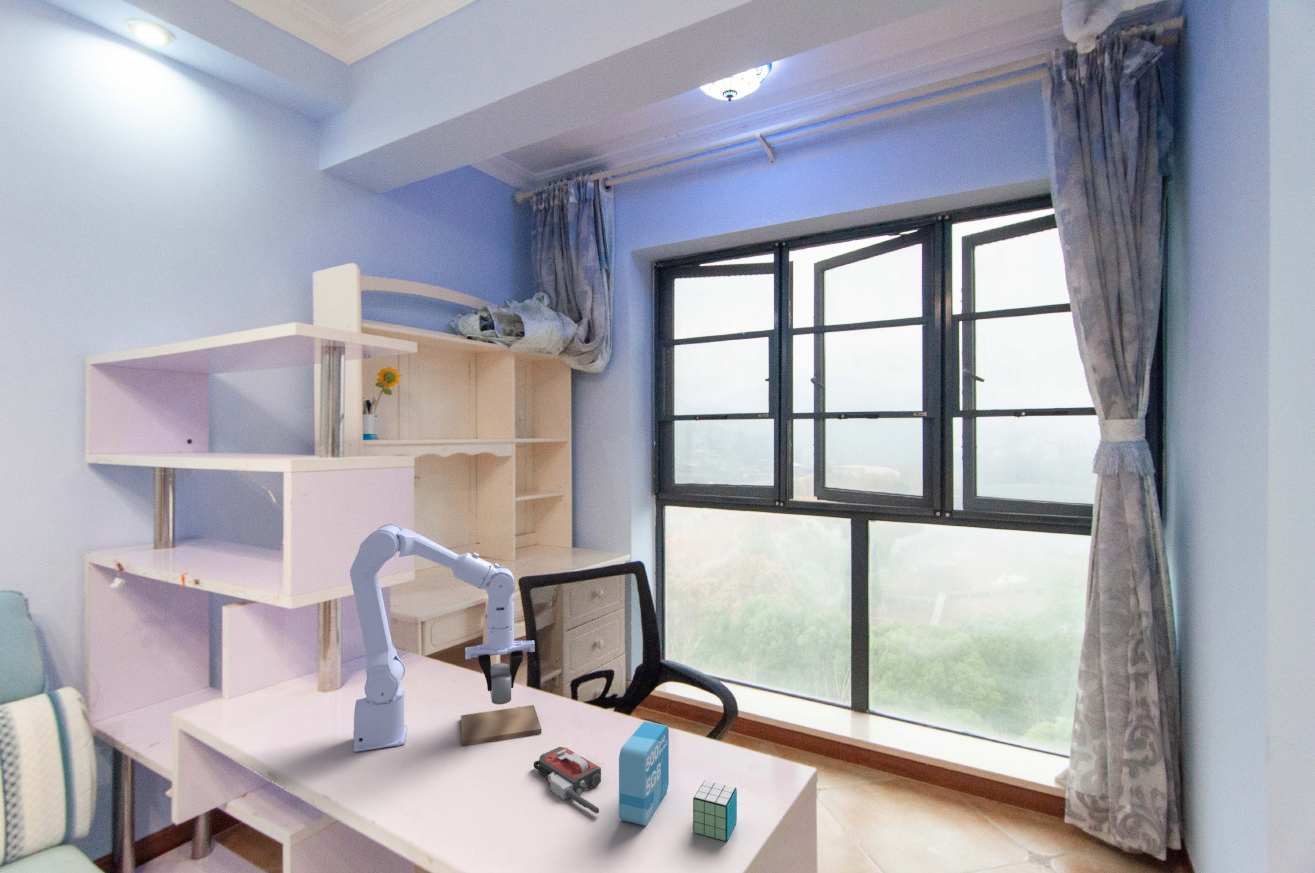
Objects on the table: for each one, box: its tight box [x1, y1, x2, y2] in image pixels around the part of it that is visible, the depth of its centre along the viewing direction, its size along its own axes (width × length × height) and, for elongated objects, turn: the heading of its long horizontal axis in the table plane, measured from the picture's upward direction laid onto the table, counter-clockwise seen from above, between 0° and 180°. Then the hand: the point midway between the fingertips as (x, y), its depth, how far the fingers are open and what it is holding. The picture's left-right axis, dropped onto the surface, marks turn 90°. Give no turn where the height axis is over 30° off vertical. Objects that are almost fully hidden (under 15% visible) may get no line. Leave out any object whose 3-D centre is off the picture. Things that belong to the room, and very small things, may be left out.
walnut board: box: [460, 704, 542, 747], centre depth 131 cm, size 16×12×1 cm
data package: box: [618, 721, 670, 826], centre depth 103 cm, size 12×4×12 cm, turn 160°
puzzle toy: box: [692, 779, 738, 842], centre depth 97 cm, size 6×6×6 cm
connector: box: [489, 662, 512, 705], centre depth 132 cm, size 4×13×5 cm, turn 19°
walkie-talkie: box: [533, 746, 602, 814], centre depth 109 cm, size 9×4×20 cm
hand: (500, 687), depth 131 cm, fingers closed on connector, 4 cm apart
